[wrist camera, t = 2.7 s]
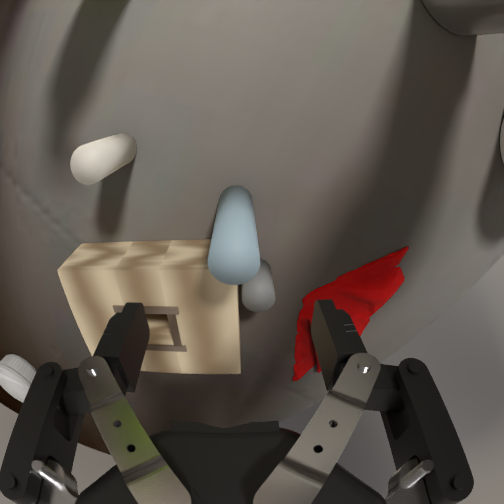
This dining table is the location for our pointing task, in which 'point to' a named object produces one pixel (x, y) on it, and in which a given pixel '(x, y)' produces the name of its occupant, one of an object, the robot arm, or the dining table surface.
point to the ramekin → (16, 376)
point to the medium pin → (102, 158)
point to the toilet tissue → (502, 141)
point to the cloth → (348, 302)
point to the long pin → (234, 239)
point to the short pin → (259, 290)
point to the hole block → (158, 302)
